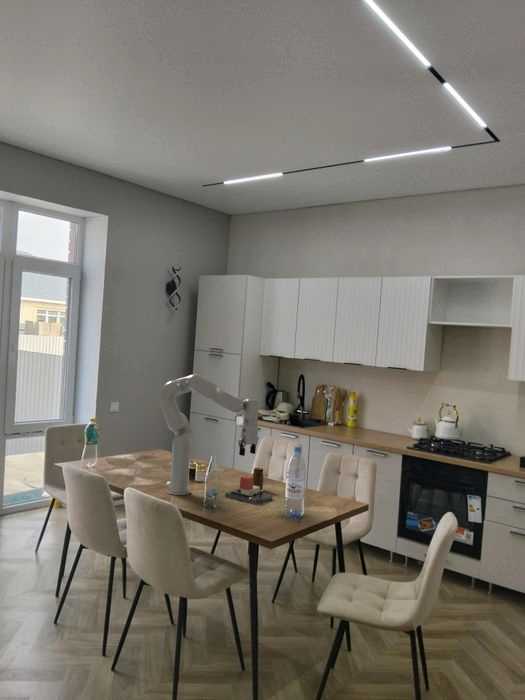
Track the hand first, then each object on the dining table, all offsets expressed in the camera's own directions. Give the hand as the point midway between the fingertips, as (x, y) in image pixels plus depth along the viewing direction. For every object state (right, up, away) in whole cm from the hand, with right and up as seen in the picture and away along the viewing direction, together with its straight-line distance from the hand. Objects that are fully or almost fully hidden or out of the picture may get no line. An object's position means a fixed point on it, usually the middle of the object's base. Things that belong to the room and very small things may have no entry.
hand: (247, 454), depth 298 cm
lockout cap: (0, -18, -1) cm, 18 cm away
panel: (+1, -23, 0) cm, 23 cm away
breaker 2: (+3, -21, +4) cm, 22 cm away
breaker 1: (0, -21, -2) cm, 21 cm away
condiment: (+5, -24, +18) cm, 30 cm away
